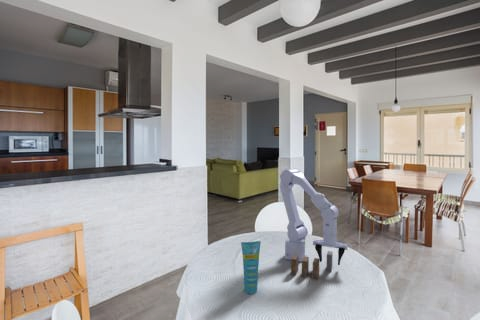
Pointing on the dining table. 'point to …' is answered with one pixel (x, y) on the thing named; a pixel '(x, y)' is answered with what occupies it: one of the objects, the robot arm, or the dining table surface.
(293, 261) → the domino
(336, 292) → the dining table surface
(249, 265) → the tube
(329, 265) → the domino
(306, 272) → the domino
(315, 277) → the domino
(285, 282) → the dining table surface
